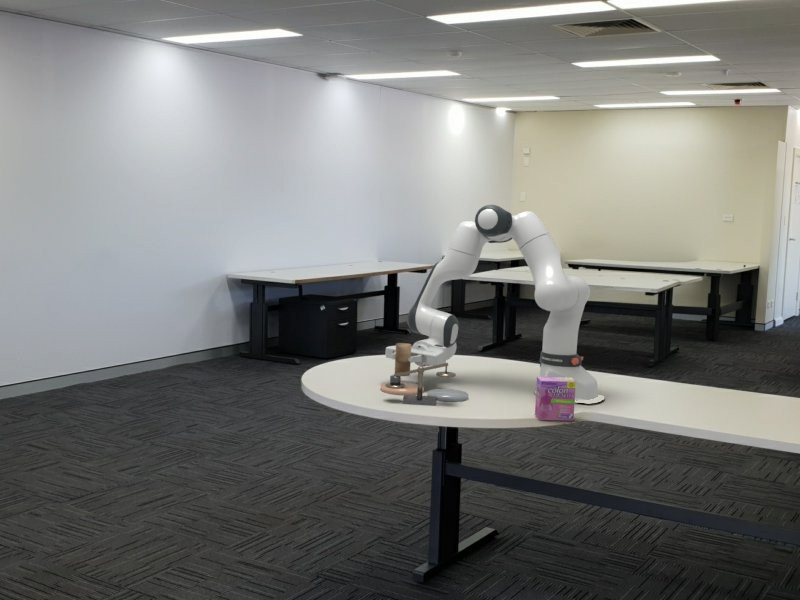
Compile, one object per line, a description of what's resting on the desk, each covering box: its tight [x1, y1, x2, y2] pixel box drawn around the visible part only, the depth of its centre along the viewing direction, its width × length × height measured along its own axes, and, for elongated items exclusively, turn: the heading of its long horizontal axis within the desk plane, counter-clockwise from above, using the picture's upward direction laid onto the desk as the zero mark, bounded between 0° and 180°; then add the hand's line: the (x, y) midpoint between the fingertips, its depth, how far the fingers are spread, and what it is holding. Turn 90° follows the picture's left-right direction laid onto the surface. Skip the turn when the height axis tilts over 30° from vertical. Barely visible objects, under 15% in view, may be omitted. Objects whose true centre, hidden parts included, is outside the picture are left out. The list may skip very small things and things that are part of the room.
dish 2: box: [426, 388, 469, 403], centre depth 266 cm, size 13×13×1 cm
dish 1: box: [380, 381, 425, 396], centre depth 273 cm, size 14×14×1 cm
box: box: [534, 376, 576, 422], centre depth 243 cm, size 10×6×12 cm, turn 92°
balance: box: [385, 362, 457, 406], centre depth 257 cm, size 21×7×13 cm, turn 87°
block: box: [394, 342, 412, 377], centre depth 272 cm, size 5×5×10 cm
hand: (401, 358), depth 271 cm, fingers closed on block, 5 cm apart
